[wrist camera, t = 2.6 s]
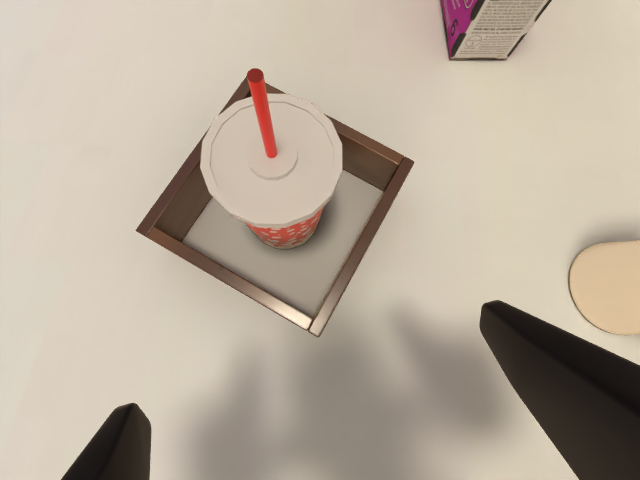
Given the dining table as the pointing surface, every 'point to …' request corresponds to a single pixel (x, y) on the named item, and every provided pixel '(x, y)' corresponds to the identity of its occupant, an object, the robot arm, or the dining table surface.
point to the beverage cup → (272, 164)
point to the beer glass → (608, 286)
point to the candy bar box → (488, 26)
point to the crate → (192, 196)
